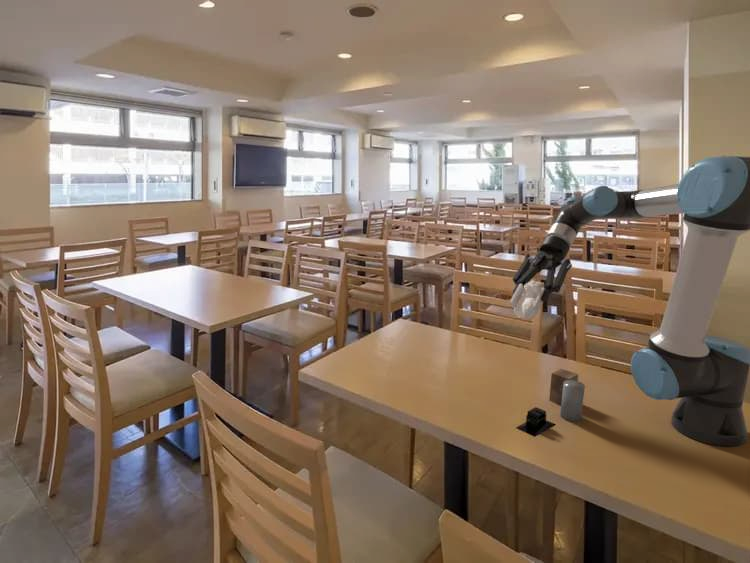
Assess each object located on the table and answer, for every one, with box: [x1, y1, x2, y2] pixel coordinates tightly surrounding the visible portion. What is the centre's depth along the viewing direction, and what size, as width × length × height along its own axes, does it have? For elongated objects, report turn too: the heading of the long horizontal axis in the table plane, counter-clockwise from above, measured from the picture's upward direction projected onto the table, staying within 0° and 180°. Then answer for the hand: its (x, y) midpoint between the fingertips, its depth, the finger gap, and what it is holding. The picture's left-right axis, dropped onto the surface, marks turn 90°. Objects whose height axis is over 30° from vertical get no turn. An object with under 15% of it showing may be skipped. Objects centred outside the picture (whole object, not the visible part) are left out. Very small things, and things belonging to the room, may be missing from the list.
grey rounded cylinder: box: [559, 380, 586, 423], centre depth 123 cm, size 5×5×9 cm
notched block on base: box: [515, 407, 557, 438], centre depth 119 cm, size 12×7×5 cm, turn 129°
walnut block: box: [548, 368, 579, 406], centre depth 133 cm, size 5×5×8 cm
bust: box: [513, 279, 544, 320], centre depth 136 cm, size 12×8×11 cm
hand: (523, 307), depth 133 cm, fingers closed on bust, 6 cm apart
